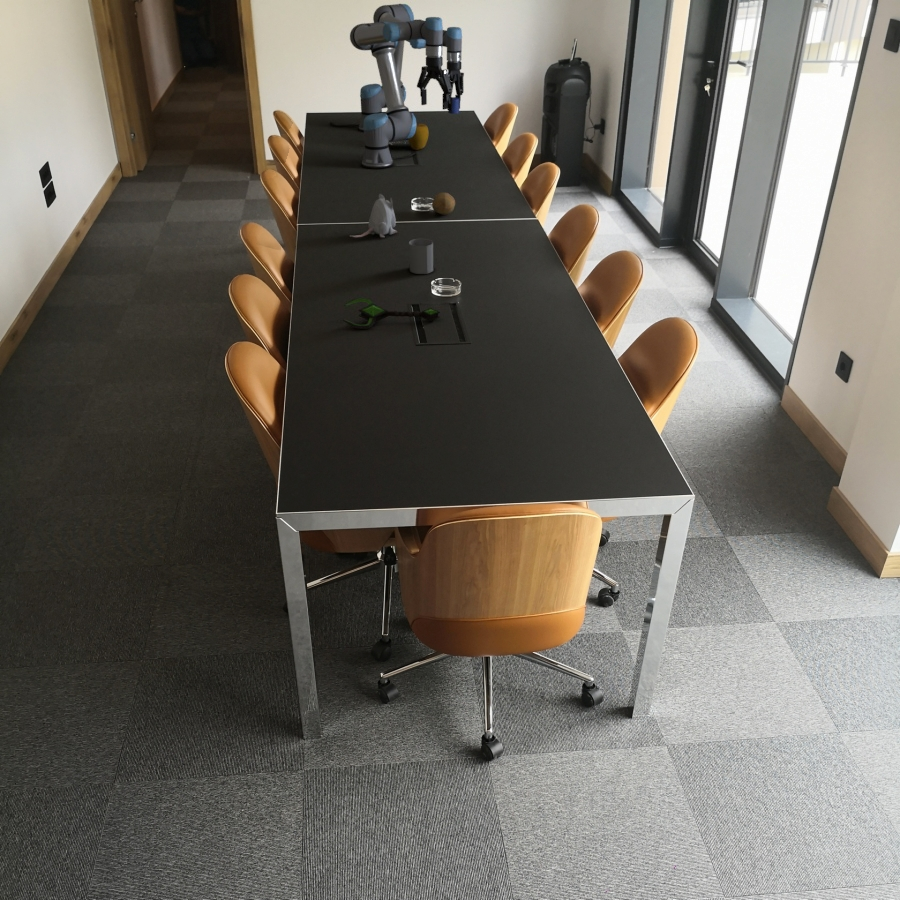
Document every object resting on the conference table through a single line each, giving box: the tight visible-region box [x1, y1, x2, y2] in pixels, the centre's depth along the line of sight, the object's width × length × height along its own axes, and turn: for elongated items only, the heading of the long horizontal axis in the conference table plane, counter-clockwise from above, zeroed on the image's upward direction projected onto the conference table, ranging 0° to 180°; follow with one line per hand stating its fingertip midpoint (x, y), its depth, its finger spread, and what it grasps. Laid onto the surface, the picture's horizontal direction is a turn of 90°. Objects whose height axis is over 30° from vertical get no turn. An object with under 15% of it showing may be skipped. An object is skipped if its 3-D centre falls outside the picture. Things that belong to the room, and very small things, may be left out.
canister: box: [447, 96, 460, 115], centre depth 451 cm, size 6×6×7 cm
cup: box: [408, 237, 434, 275], centre depth 305 cm, size 8×8×10 cm
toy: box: [350, 193, 398, 239], centre depth 333 cm, size 9×24×15 cm, turn 137°
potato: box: [431, 192, 456, 216], centre depth 360 cm, size 10×14×8 cm
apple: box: [407, 122, 429, 151], centre depth 451 cm, size 11×11×13 cm
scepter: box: [342, 297, 441, 330], centre depth 270 cm, size 6×13×30 cm
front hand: (434, 106), depth 395 cm, fingers open, 13 cm apart
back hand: (453, 109), depth 452 cm, fingers closed on canister, 6 cm apart
